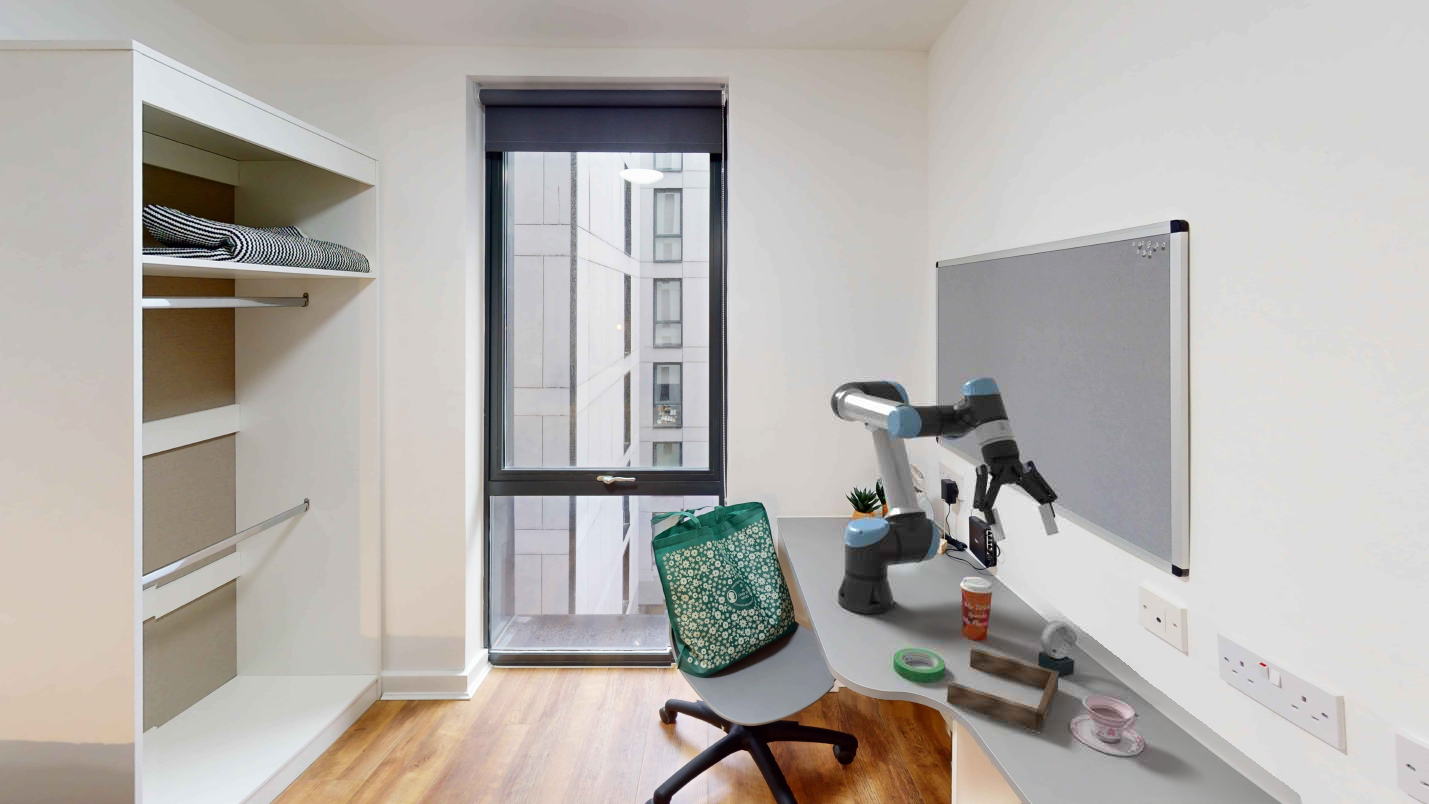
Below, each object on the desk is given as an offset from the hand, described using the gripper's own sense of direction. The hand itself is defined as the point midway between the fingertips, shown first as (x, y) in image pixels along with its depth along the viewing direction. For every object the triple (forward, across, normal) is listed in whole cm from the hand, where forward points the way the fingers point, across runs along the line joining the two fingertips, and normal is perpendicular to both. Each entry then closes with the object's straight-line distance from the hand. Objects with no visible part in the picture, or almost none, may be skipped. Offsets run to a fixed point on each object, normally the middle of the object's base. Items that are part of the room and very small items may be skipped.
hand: (1027, 537), depth 137 cm
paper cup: (+18, +4, +33) cm, 38 cm away
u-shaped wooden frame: (+30, -8, +12) cm, 33 cm away
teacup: (+39, +1, -2) cm, 39 cm away
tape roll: (+24, -19, +24) cm, 39 cm away
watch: (+28, +11, +17) cm, 34 cm away
